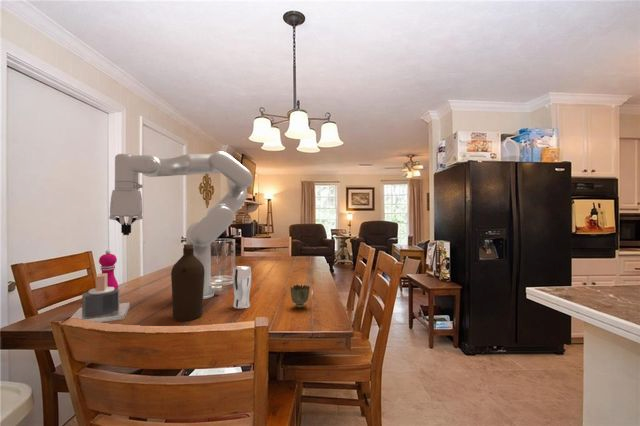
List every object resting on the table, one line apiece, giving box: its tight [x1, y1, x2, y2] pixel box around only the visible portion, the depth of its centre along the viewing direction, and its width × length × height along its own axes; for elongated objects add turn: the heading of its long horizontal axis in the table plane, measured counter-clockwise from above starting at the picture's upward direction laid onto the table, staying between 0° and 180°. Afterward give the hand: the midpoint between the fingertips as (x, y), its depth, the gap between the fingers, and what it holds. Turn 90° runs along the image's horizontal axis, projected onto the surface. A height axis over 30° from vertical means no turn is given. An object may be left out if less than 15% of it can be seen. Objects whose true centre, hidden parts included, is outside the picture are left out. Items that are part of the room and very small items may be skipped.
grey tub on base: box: [70, 288, 131, 323], centre depth 103 cm, size 15×15×8 cm
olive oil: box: [170, 243, 205, 322], centre depth 103 cm, size 11×11×25 cm
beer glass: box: [232, 265, 252, 310], centre depth 114 cm, size 7×7×15 cm
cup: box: [289, 284, 311, 309], centre depth 114 cm, size 8×7×8 cm
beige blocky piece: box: [88, 273, 114, 295], centre depth 103 cm, size 7×7×8 cm
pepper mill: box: [98, 249, 119, 290], centre depth 123 cm, size 7×7×20 cm
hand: (126, 234), depth 114 cm, fingers closed
